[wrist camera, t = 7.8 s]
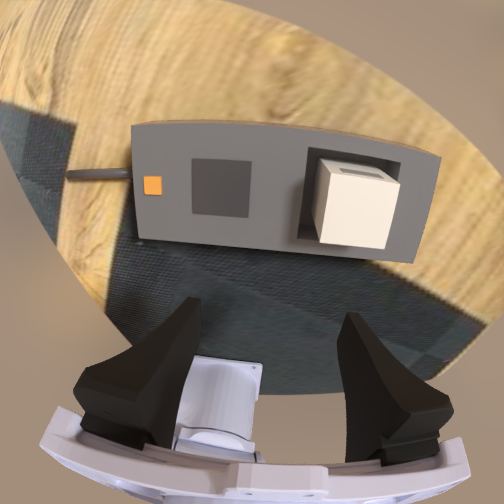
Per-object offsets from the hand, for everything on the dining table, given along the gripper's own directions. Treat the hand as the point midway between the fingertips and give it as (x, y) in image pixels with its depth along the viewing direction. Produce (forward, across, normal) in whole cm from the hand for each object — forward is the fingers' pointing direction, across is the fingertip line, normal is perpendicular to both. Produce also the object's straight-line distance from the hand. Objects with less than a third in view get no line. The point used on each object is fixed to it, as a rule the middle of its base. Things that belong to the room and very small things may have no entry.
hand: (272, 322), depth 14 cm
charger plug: (+9, -4, -5) cm, 11 cm away
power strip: (+10, +4, -4) cm, 12 cm away
